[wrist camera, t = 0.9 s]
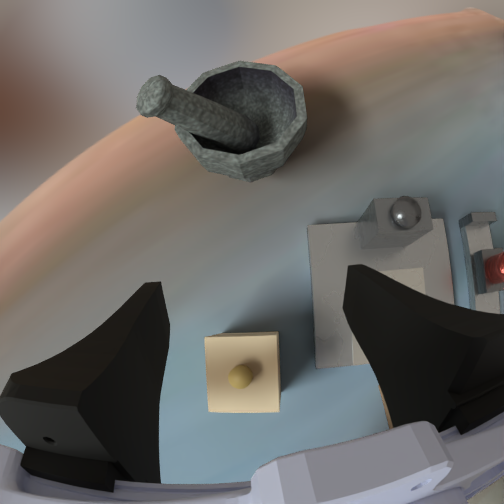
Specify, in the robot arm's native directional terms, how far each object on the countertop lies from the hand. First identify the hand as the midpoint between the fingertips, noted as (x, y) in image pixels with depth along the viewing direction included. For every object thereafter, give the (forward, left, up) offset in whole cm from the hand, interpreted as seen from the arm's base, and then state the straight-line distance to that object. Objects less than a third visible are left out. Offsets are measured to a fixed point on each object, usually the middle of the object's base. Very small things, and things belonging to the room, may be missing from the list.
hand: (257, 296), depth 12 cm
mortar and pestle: (+14, +2, -13) cm, 19 cm away
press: (+1, -9, -13) cm, 16 cm away
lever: (+1, -19, -12) cm, 22 cm away
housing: (-4, +2, -13) cm, 14 cm away
